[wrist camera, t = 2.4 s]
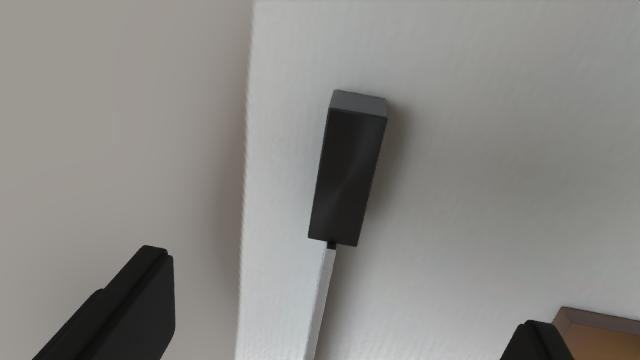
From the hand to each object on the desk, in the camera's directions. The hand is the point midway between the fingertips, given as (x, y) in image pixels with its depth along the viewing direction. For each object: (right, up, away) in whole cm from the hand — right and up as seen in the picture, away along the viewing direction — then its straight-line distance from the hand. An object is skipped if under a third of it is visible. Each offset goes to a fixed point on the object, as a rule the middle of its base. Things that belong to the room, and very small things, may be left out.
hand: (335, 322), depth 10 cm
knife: (0, -1, +12) cm, 12 cm away
